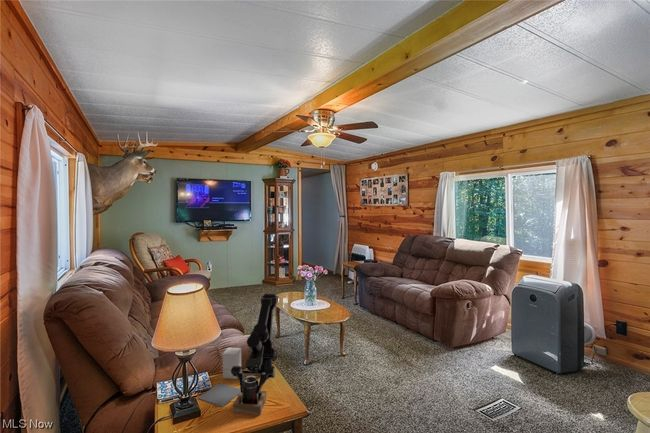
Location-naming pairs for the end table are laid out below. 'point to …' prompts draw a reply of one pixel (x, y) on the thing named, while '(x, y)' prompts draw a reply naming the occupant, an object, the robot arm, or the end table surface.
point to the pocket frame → (249, 405)
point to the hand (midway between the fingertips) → (249, 392)
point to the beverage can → (250, 390)
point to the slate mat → (220, 394)
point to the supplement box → (231, 361)
